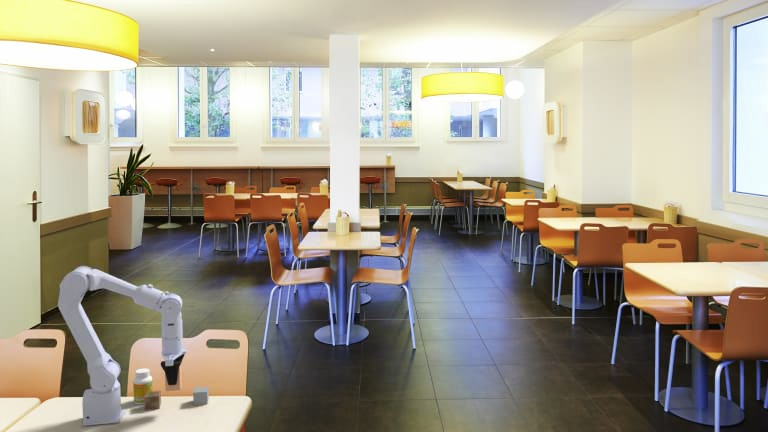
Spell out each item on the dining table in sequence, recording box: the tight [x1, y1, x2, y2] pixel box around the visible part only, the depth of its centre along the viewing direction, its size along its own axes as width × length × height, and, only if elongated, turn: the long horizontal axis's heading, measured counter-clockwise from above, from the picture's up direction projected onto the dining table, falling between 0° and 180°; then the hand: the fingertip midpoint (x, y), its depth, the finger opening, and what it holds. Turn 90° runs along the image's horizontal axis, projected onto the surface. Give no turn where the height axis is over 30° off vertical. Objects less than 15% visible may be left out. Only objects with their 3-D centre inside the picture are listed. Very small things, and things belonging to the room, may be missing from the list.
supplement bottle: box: [132, 367, 154, 405], centre depth 170 cm, size 5×5×10 cm
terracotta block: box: [164, 364, 183, 392], centre depth 163 cm, size 4×4×7 cm
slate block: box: [192, 386, 209, 406], centre depth 170 cm, size 4×4×4 cm
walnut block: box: [144, 390, 162, 411], centre depth 166 cm, size 4×4×4 cm
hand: (173, 381), depth 163 cm, fingers closed on terracotta block, 4 cm apart
